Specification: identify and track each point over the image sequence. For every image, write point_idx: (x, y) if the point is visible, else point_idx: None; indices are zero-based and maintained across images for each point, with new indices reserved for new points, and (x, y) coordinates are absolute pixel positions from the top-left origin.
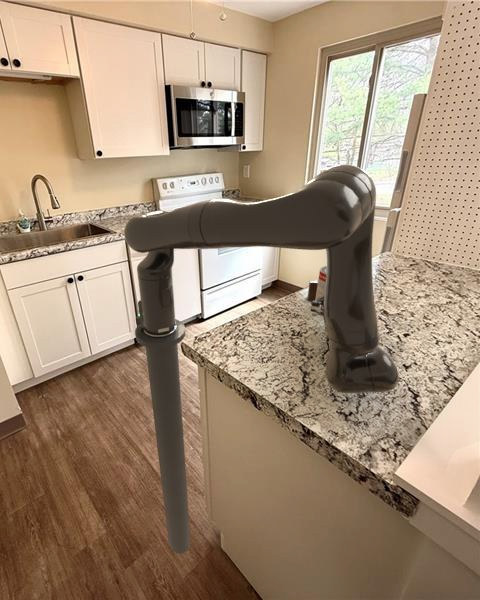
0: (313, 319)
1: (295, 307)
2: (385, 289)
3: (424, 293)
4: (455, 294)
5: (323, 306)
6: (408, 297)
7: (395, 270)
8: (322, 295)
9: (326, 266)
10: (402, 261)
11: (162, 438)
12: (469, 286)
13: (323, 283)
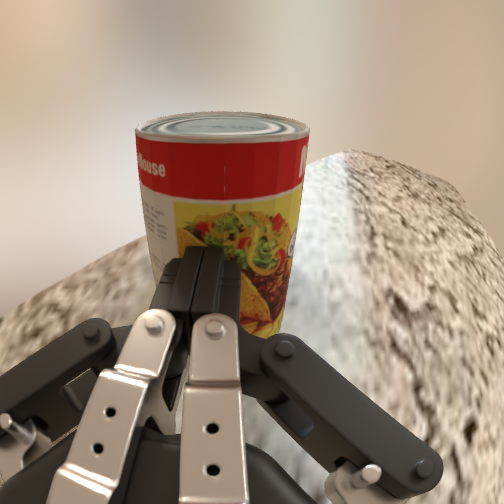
0: None
1: (101, 304)
2: (374, 212)
3: (436, 224)
4: (468, 227)
5: (6, 491)
6: (421, 236)
7: (372, 172)
8: (159, 268)
9: (192, 114)
10: (374, 160)
11: None
12: (468, 210)
13: (146, 199)
